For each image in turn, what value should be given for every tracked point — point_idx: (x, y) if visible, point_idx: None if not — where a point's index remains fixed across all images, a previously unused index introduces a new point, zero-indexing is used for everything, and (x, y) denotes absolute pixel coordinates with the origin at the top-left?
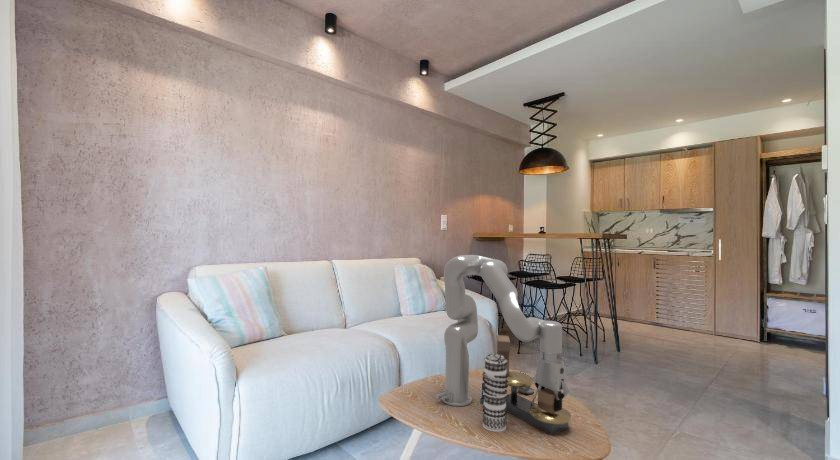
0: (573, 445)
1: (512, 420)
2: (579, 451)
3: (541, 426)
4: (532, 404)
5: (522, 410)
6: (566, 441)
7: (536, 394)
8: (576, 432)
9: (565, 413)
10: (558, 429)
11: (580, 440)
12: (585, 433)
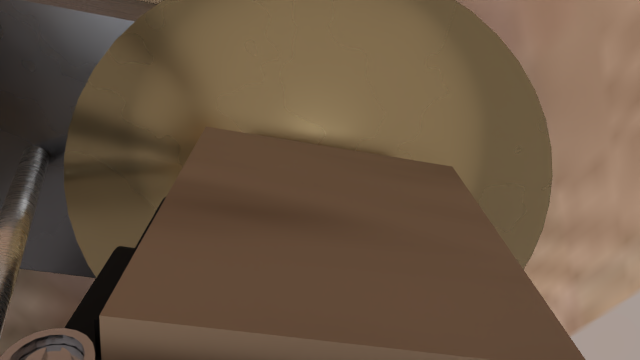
0: (556, 272)
1: (59, 282)
2: (603, 305)
3: None
4: (40, 188)
5: (45, 266)
6: None
7: (10, 293)
8: (537, 76)
9: (472, 113)
10: None
11: (590, 179)
12: (615, 28)
